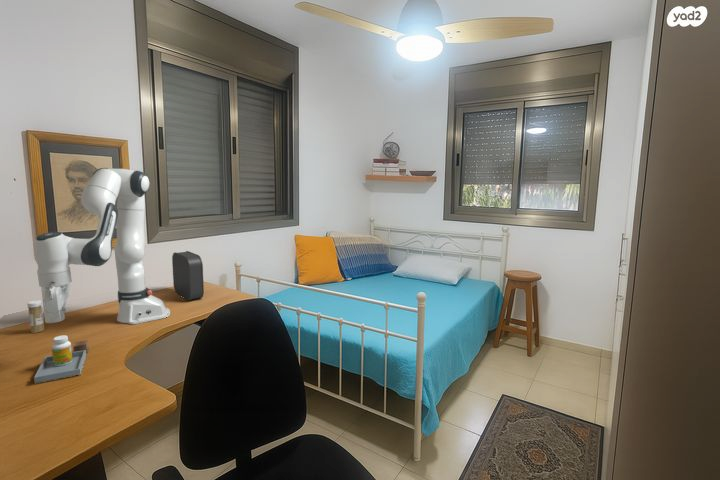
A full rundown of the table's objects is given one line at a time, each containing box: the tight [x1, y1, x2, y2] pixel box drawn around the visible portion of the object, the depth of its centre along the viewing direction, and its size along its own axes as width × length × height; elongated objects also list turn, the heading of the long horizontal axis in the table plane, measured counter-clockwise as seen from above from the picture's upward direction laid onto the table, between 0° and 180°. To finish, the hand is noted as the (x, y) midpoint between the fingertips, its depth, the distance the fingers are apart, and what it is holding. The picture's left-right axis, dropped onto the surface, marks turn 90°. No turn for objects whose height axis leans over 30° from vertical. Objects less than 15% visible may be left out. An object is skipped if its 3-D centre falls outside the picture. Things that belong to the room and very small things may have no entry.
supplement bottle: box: [51, 334, 73, 366], centre depth 132 cm, size 5×5×10 cm
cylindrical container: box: [40, 287, 66, 324], centre depth 170 cm, size 7×7×25 cm
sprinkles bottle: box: [27, 299, 45, 334], centre depth 159 cm, size 5×5×14 cm
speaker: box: [171, 250, 205, 301], centre depth 211 cm, size 25×9×25 cm, turn 46°
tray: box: [33, 350, 88, 384], centre depth 130 cm, size 12×16×2 cm
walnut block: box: [72, 340, 89, 355], centre depth 142 cm, size 4×4×4 cm
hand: (60, 316), depth 131 cm, fingers open, 8 cm apart
